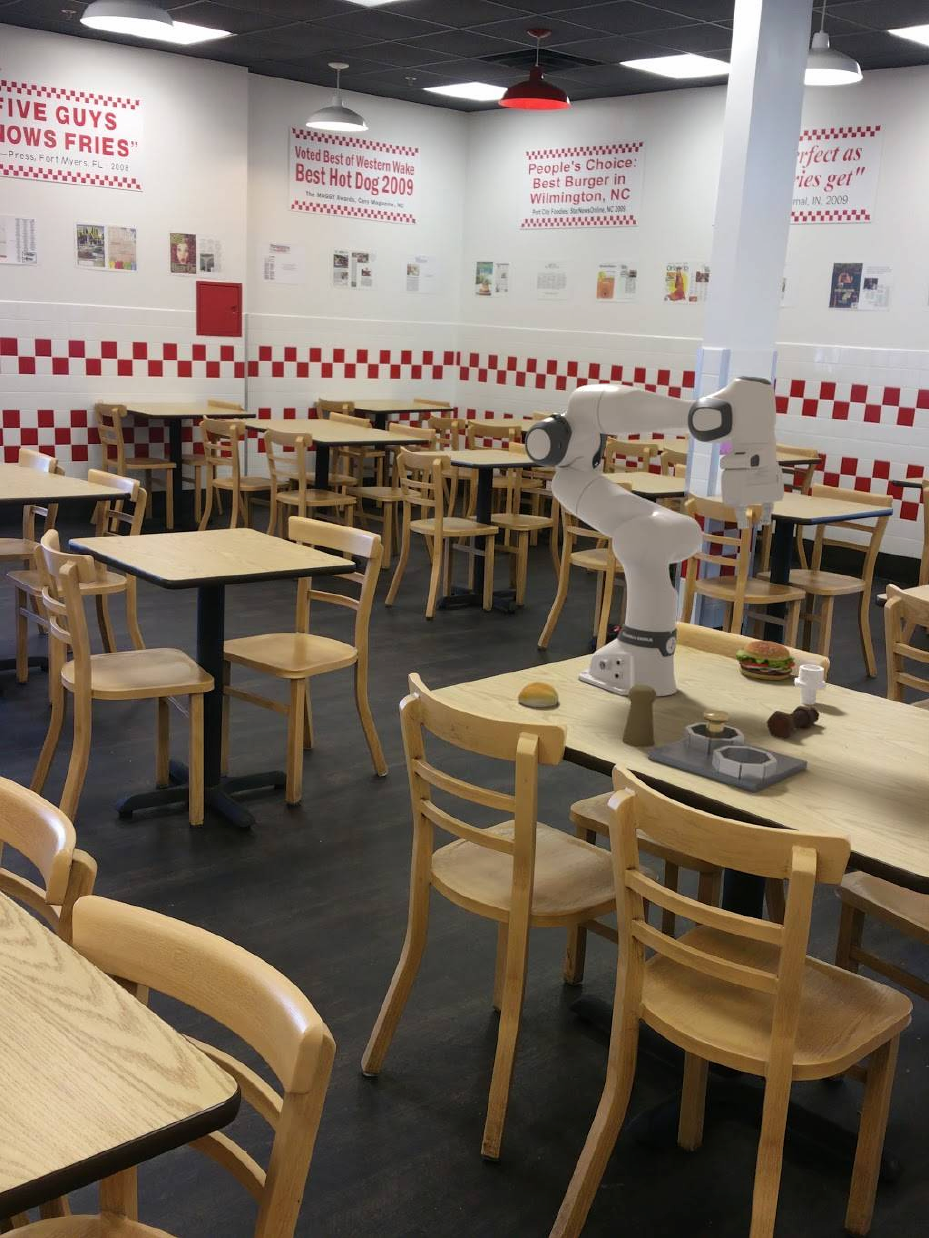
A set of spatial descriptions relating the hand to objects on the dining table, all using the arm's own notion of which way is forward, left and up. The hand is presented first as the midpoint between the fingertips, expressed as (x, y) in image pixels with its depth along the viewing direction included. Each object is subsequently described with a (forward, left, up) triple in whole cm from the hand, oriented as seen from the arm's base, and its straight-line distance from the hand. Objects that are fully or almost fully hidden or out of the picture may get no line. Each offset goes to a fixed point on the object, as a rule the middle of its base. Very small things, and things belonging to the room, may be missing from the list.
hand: (754, 526), depth 242 cm
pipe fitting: (+6, +22, -40) cm, 46 cm away
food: (-13, +36, -40) cm, 56 cm away
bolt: (+14, +1, -40) cm, 43 cm away
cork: (-2, -32, -40) cm, 51 cm away
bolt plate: (+16, -29, -40) cm, 52 cm away
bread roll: (-31, -27, -40) cm, 58 cm away
